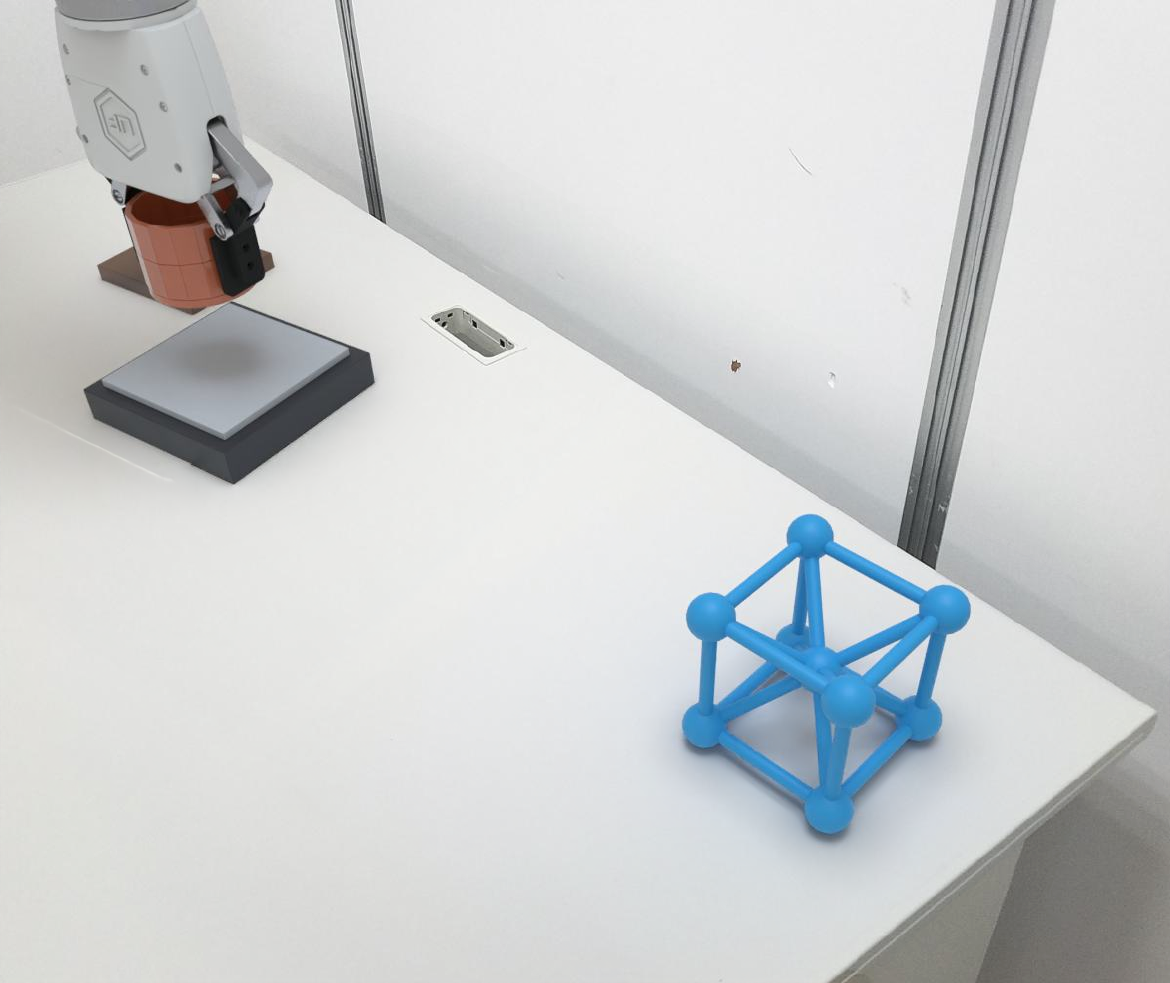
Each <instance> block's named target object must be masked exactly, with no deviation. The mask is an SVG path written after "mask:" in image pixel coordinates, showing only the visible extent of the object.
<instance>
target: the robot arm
mask: <svg viewBox="0 0 1170 983" xmlns="http://www.w3.org/2000/svg"><path fill="white" fill-rule="evenodd" d="M54 2H55V5H56V6H55V8H54V9H53V10H54V21H55V30H56V38H57V44H58V51H59V56H60V60H61V65H62V71H63V75H64V79H65V83H66V87H67V91H68V96H69V100H70V103H71V107H72V112H73V114H74V118H75V122H76V125H77V126H76V128H75V132H76V135H77V137H78V138H79V140H80V141H81V143H82V144H83V145H82V146H83V149H84V152H85V155H86V158H87V160H88V162H89V164H90V166H91V167H92V168H93V170H95V171H96V172H97V173H98V174H100V175H101V176H102V177H104V178H105V179H106V181H107V182H108V183H109V184H110V194H111V197H112V199H113V200H114V202H115V203H116V204H117V205H118V206H120V207H122V208H121V212H122V214H123V218H124V221H125V224H126V226H127V230H128V234H129V236H130V241H131V244H132V247H134V250H135V253H136V256H137V252H136V249H135V246H134V243H133V240H132V236H131V233H130V230H129V227H128V223H127V220H126V217H125V209H126V204H127V203H128V202H129V201H130V200H131V199H132V198H133V197H134V196H135V195H136V194H138V193H139V192H141V191H143V190H144V191H147V192H150V193H153V194H156V195H159V196H162V197H165V198H168V199H172V200H175V201H178V202H183V203H193V202H197V204H198V206H199V207H200V209H201V211H202V212H203V214H204V216H205V217H206V219H207V221H208V222H209V224H210V226H211V227H212V229H213V231H214V232H215V234H216V235H215V236H213V237H211V238H209V240H210V245H211V249H212V252H213V256H214V260H215V264H216V267H217V271H218V275H219V279H220V282H221V286H222V290H223V292H224V294H226V295H228V296H231V297H234V296H236V295H238V294H240V293H241V292H243V291H245V290H246V289H248V288H250V287H251V286H253V285H255V284H256V283H257V284H258V283H260V282H261V281H263V280H264V279H265V277H266V273H265V269H264V265H263V261H262V257H261V252H260V249H261V248H260V244H259V240H258V236H257V231H256V226H255V225H256V224H258V223H259V222H260V215H261V213H262V212H263V211H264V209H265V207H266V201H267V200H268V197H269V195H270V192H271V190H272V188H273V185H274V181H273V179H272V176H271V175H270V173H269V172H267V171H266V170H265V168H264V167H263V166H262V165H261V164H260V163H259V161H258V160H257V159H256V158H255V157H254V156H253V155H252V154H251V153H250V151H248V149H247V148H246V147H245V140H244V137H243V130H242V128H241V124H240V120H239V115H238V111H237V108H236V105H235V101H234V98H233V94H232V91H231V87H230V84H229V81H228V78H227V74H226V72H225V69H224V65H223V63H222V60H221V57H220V54H219V51H218V47H217V45H216V43H215V40H214V38H213V34H212V33H211V30H210V27H209V25H208V22H207V20H206V17H205V15H204V13H203V10H202V8H201V7H200V6H198V2H199V1H198V0H54ZM213 174H214V175H216V176H218V178H220V179H218V180H216V181H214V182H212V178H213ZM211 182H212V183H211ZM223 189H224V190H225V192H226V194H227V195H228V197H229V199H230V200H231V204H230V205H229V207H228V208H227V210H226V211H225V213H223V211H222V209H221V207H220V206H219V204H218V202H217V201H216V199H215V197H214V196H213V194H215V193H217V192H219V191H221V190H223ZM123 206H124V207H123ZM137 260H138V262H139V259H138V256H137ZM139 263H140V262H139ZM257 284H256V285H257ZM256 285H255V286H256Z"/></svg>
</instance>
